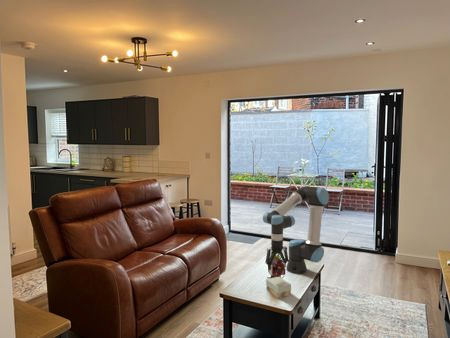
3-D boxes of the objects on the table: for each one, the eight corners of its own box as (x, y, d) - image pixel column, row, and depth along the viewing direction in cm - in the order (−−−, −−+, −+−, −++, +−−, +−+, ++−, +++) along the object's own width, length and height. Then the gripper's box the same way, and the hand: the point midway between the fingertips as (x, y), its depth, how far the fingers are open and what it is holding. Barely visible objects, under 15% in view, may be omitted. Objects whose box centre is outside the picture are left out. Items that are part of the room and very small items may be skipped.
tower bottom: (279, 287, 238) (279, 281, 237) (290, 296, 225) (290, 290, 224) (266, 290, 234) (266, 284, 234) (277, 299, 221) (277, 293, 221)
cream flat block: (278, 282, 237) (278, 276, 237) (291, 290, 225) (291, 284, 224) (266, 285, 233) (266, 279, 233) (278, 293, 220) (278, 287, 220)
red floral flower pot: (281, 278, 221) (281, 262, 220) (266, 273, 230) (266, 257, 229) (288, 275, 226) (288, 260, 225) (273, 270, 235) (273, 255, 234)
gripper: (288, 236, 233) (288, 269, 235) (259, 239, 226) (259, 273, 228) (294, 239, 226) (294, 273, 228) (264, 242, 219) (264, 277, 221)
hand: (277, 273), depth 228 cm, fingers closed on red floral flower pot, 8 cm apart
